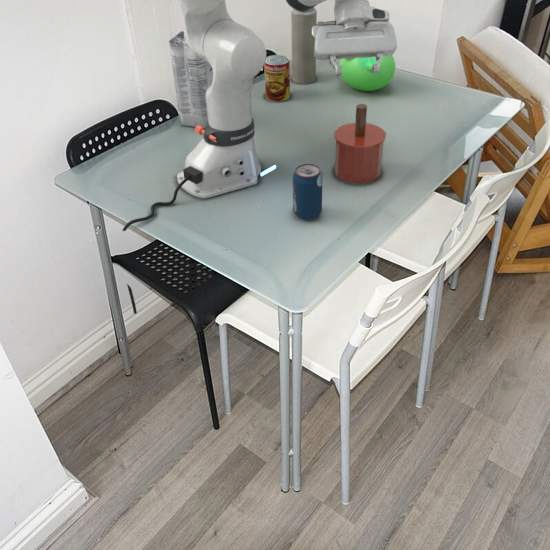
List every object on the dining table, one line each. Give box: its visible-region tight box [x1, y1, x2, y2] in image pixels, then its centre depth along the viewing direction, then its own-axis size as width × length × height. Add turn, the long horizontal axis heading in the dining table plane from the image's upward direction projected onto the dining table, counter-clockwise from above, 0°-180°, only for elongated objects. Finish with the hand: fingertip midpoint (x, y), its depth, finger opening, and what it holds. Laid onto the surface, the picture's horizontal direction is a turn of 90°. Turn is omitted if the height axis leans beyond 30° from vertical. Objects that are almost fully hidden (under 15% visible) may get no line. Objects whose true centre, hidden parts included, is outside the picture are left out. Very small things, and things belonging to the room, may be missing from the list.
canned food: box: [263, 54, 291, 103], centre depth 196 cm, size 8×8×12 cm
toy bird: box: [338, 55, 396, 92], centre depth 198 cm, size 18×17×15 cm
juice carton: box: [168, 30, 213, 128], centre depth 179 cm, size 9×10×27 cm
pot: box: [334, 140, 384, 184], centre depth 159 cm, size 12×12×10 cm
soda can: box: [292, 163, 324, 221], centre depth 145 cm, size 7×7×12 cm
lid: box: [333, 103, 387, 149], centre depth 154 cm, size 13×13×9 cm
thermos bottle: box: [290, 7, 318, 85], centre depth 201 cm, size 8×8×28 cm
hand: (357, 73), depth 154 cm, fingers open, 8 cm apart
